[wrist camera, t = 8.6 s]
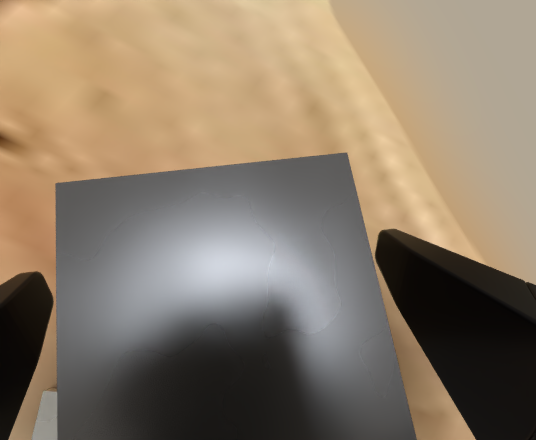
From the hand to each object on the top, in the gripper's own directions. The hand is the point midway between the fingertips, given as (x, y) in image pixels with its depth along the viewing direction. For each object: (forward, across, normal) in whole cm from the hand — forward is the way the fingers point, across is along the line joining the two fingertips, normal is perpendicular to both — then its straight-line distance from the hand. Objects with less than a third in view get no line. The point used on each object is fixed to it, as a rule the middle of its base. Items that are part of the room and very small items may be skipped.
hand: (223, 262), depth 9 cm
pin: (+5, 0, +7) cm, 8 cm away
